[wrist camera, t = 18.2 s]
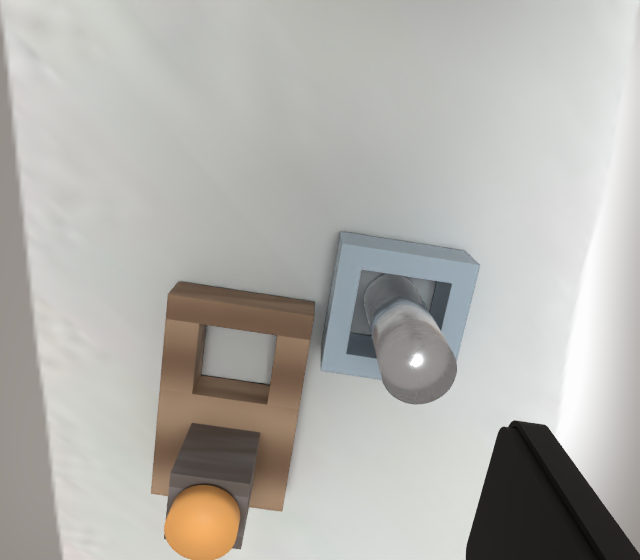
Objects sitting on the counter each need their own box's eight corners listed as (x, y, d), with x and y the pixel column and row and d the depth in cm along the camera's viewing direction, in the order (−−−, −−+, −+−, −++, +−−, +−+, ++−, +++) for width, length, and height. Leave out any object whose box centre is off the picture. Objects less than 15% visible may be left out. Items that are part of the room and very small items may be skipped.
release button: (194, 428, 41) (167, 496, 33) (255, 437, 41) (240, 506, 34) (189, 480, 42) (161, 556, 35) (248, 488, 42) (232, 565, 35)
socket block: (178, 281, 41) (140, 325, 32) (314, 302, 41) (312, 351, 33) (161, 469, 45) (123, 553, 37) (284, 486, 46) (275, 572, 37)
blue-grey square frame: (340, 231, 40) (342, 243, 36) (465, 250, 40) (480, 264, 36) (320, 347, 42) (320, 370, 39) (438, 364, 43) (449, 389, 39)
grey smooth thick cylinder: (368, 269, 41) (388, 329, 29) (423, 277, 41) (464, 340, 29) (359, 321, 42) (374, 398, 30) (412, 329, 42) (447, 408, 30)
